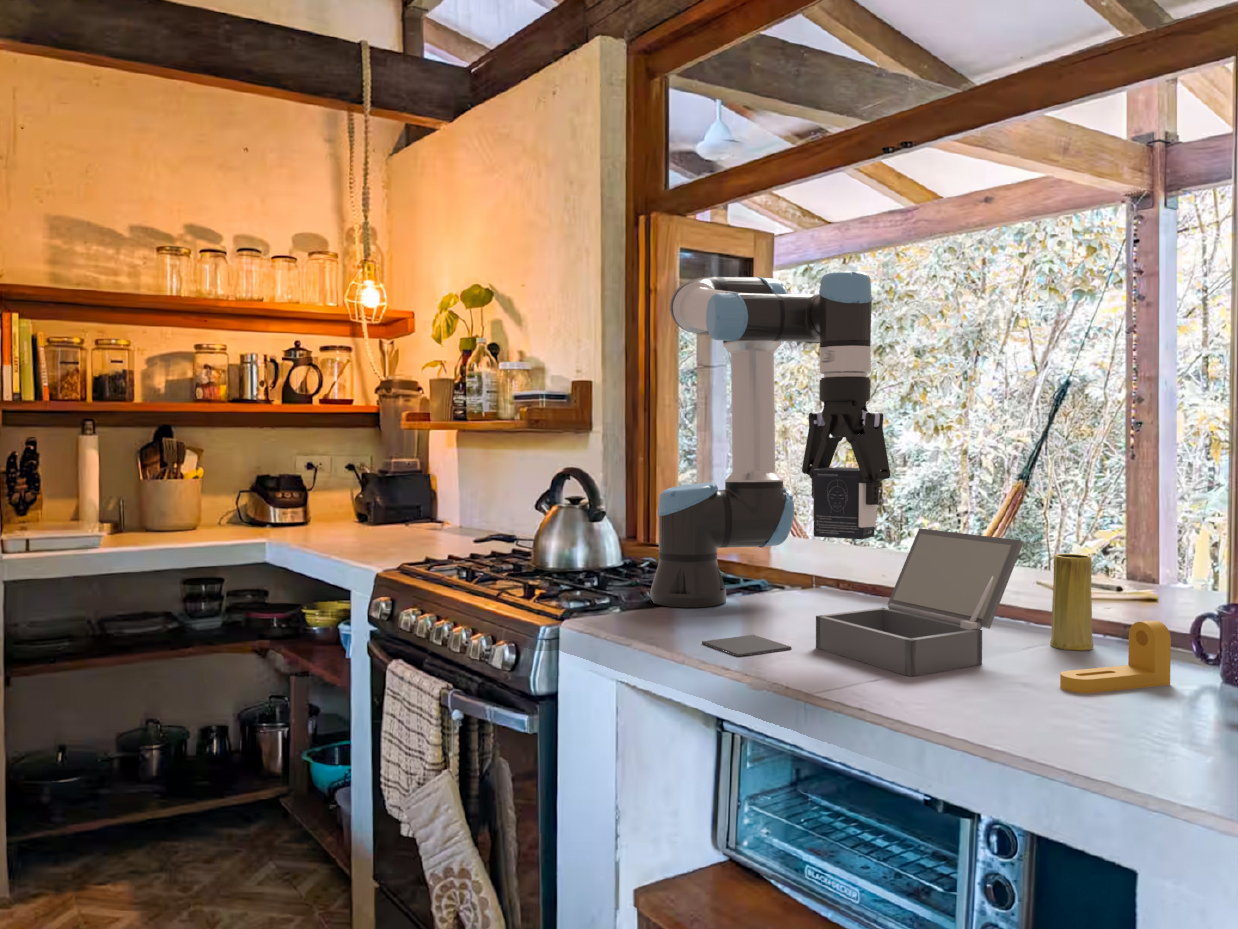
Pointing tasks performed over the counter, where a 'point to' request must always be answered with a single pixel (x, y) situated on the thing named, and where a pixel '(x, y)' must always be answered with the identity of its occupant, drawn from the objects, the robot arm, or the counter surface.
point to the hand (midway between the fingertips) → (843, 523)
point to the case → (929, 607)
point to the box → (838, 504)
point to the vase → (1072, 603)
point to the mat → (746, 645)
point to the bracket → (1129, 664)
